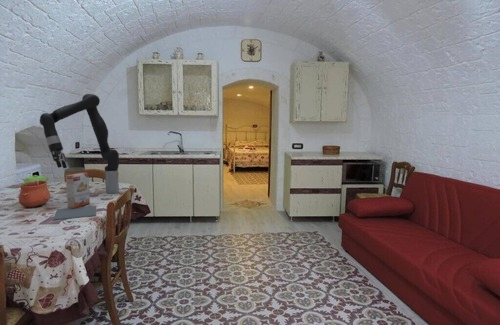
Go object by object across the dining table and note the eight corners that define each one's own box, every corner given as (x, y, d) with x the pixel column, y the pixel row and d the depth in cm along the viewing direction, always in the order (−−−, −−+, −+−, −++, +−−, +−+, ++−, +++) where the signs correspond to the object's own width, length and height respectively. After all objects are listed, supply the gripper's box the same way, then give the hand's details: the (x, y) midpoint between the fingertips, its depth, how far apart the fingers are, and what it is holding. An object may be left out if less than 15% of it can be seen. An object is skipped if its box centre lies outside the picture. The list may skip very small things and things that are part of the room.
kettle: (21, 191, 250) (20, 177, 248) (29, 187, 263) (27, 174, 262) (43, 190, 254) (42, 176, 252) (49, 186, 267) (48, 173, 265)
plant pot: (61, 189, 259) (60, 169, 257) (79, 185, 272) (78, 166, 269) (72, 191, 251) (70, 171, 249) (90, 188, 264) (89, 168, 262)
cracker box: (75, 208, 204) (73, 175, 202) (67, 208, 205) (65, 175, 203) (90, 203, 218) (88, 172, 216) (82, 203, 219) (80, 172, 217)
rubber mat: (57, 210, 203) (57, 209, 203) (96, 206, 212) (96, 205, 212) (52, 220, 183) (52, 219, 183) (96, 215, 192) (95, 214, 192)
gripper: (56, 140, 204) (64, 165, 203) (64, 143, 218) (72, 166, 217) (43, 144, 202) (51, 169, 202) (53, 147, 216) (61, 170, 216)
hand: (62, 167), depth 210 cm, fingers open, 8 cm apart
